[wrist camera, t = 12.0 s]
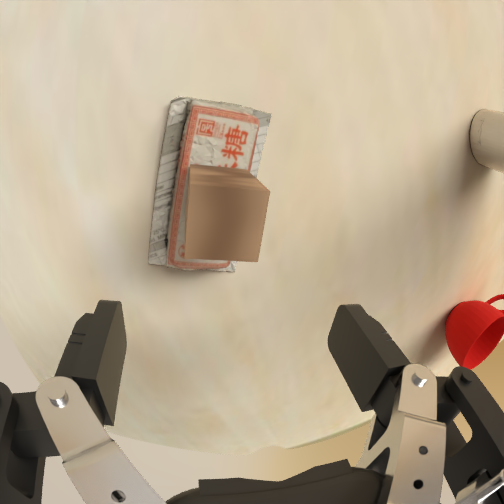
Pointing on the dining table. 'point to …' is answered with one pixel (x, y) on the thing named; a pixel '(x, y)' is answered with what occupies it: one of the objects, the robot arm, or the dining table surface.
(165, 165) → the packaged product
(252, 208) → the walnut block
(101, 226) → the dining table surface
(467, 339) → the ceramic cup
